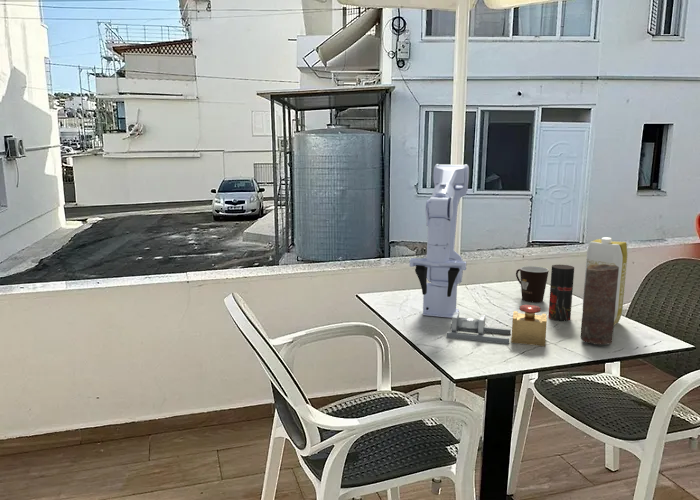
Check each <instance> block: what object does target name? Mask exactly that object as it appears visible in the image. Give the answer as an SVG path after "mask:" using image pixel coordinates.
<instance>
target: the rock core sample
mask: <svg viewBox="0 0 700 500" xmlns="http://www.w3.org/2000/svg"><path fill="white" fill-rule="evenodd" d="M585 271H586V270H585ZM618 272H619V267H618V266H616V265H607V264H601V265H598V264H590V265H589V266H588V267H587V271H586V282H585V281H584V283H585V293H584V292H583V296H584V304H583V303H582V313H581V315H582V316H581V325H580V326H581V327H580V339H581V341H583V342H584V343H587V344H592V345H599V346H600V345H612V343H613V337H614V336H613V335H614V327H615V325H614V315H615V303H616V293H617V282H618Z"/></svg>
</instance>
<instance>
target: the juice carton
mask: <svg viewBox="0 0 700 500" xmlns="http://www.w3.org/2000/svg"><path fill="white" fill-rule="evenodd" d="M590 264H598V265H601V264H607V265H616V266H618V267H619V272H618V282H617V293H616V303H615V315H614V326H615V325H616V324H618V323H619V322H620V320H621V317H622V314H623V309H624V298H625V288H626V287H625V286H626V277H627V267H628V243H627V241H613V240H612V237H609V236H608V237H607V236H604V237H601V239H600V238H596V239H594V240H591V241H590V242H589V244H588V248H587V252H586V262H585V275H584V282H583V283H584V287H583V294H584V293H585V282H586V271H587V267H588V266H589V265H590ZM583 304H584V295H583V299H582V305H583Z"/></svg>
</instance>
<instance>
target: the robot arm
mask: <svg viewBox="0 0 700 500" xmlns="http://www.w3.org/2000/svg"><path fill="white" fill-rule="evenodd" d="M469 179H470V167H469V164H467V163H466V164H439V163H435V165H434V167H433V183H434V188H433V190H432V191H433V192H432V194H431V196H430V198H429V199H428V198H427V199H426V202H425V217H426V227H427V236H426V240H427V242H426V257H424V258H421V257H419V258H418V257H415V258H414V257H410V259H409V267H413V268H414V267H415V269H414V272H415V274H416V276H417V278H418V280H419V284H420V286H421V292H422V295H423V298H422V299H423V301H422V302H423V303H422V315H423V316H429V317H440V318H450V319H452V316H453V314H454V312H459V311H460V310H459V308H457V296H458V285H460V284H461V283H462V282H463V273H464V271H466V270H467V261H465V260H463V258H462V255H460V254H459V253H458V252H457V251H456V250H455V246H456V245H455V244H456V232H457V222H458V221H457V220H458V209H459V204H460V200H461V198H463V197H464V196H467V194H468V193H467V192H468V191H469V190H468V188H469ZM427 281H428V282H427ZM459 313H460V312H459Z"/></svg>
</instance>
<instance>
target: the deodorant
mask: <svg viewBox="0 0 700 500" xmlns="http://www.w3.org/2000/svg"><path fill="white" fill-rule="evenodd" d="M550 273H551V274H550V275H551V276H550V288H549V289H550V290H549V302H548V304H549V305H548V316H547V317H548V319H549V320H551V321H555V322H570V321H571V316H572V306H573V305H572V304H573V303H572V302H573V291H574V279H575V266H573V265H569V264H552V265H551V271H550Z"/></svg>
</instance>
